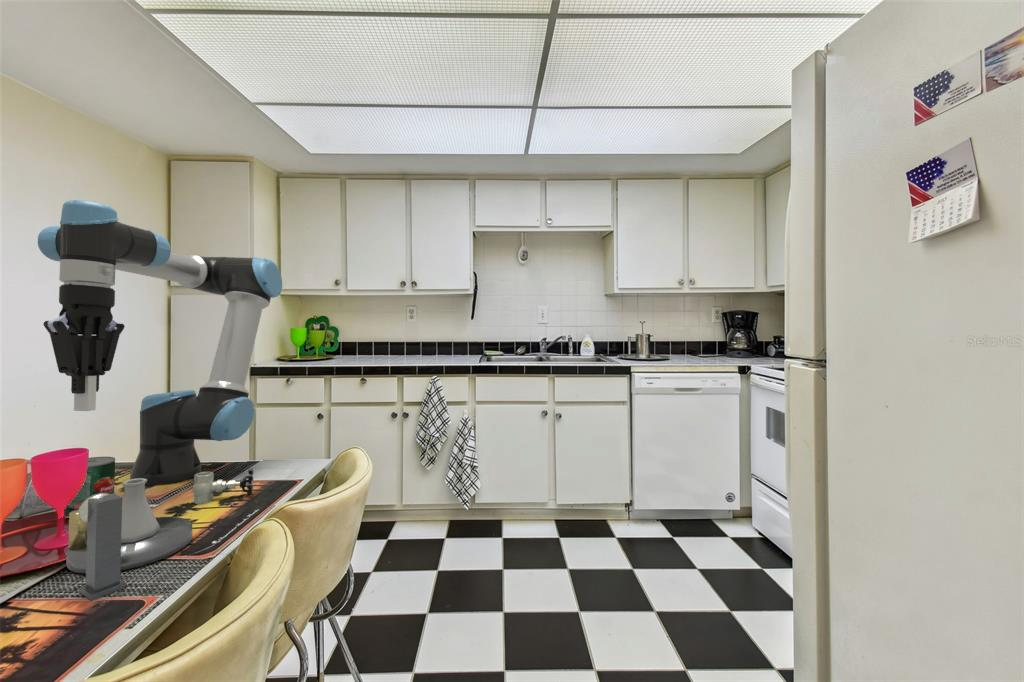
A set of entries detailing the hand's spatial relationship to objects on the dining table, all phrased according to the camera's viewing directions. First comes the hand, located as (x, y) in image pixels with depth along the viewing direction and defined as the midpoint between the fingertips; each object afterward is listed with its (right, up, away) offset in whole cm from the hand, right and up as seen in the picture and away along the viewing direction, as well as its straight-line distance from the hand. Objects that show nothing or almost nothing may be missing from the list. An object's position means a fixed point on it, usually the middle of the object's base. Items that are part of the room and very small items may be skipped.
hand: (84, 410), depth 82 cm
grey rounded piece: (+12, -25, -3) cm, 28 cm away
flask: (+12, -23, -3) cm, 26 cm away
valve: (+11, -25, +22) cm, 35 cm away
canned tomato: (-11, -24, +12) cm, 29 cm away
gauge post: (+18, -25, -16) cm, 35 cm away
